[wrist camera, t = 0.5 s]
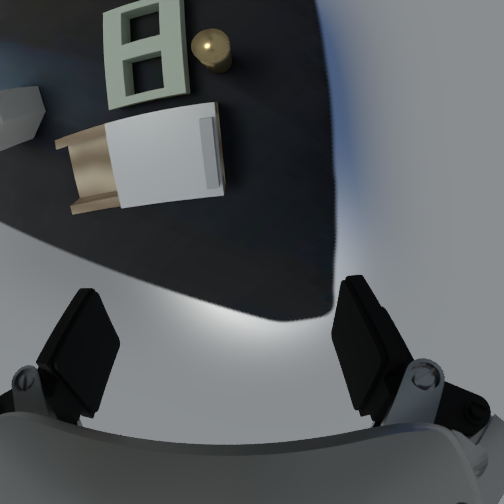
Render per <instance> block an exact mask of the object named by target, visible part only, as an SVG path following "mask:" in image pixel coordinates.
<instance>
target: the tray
mask: <svg viewBox="0 0 504 504" xmlns="http://www.w3.org/2000/svg"><path fill="white" fill-rule="evenodd" d="M215 109H216V119H217V130H218V140H219V149H220V159H221V169H222V178H223V187H224V191H225V184H226V181H225V172H224V162H223V152H222V142H221V132H220V121H219V111H218V102H215ZM55 144H56V150H57V149H60V148H63V147H66V146H68V148H69V153H70V158H71V162H72V167H73V171H74V176H75V180H76V184H77V188H78V192H79V196H80V199H78V200H77V201H76V202H75V203H73V204H72V205H71V206H70V207H71V210H72V214H78V213H83V212H89V211H94V210H100V209H106V208H111V207H117V206H121V205H120V201H119V197H118V192H117V188H116V184H115V179H114V175H113V170H112V165H111V160H110V155H109V149H108V144H107V138H106V132H105V125H104V124H103V125H100V126H96V127H93V128H90V129H87V130H84V131H80V132H77V133H75V134H72V135H69V136H66V137H63V138H61V139H58V140H55Z"/></svg>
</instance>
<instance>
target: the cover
mask: <svg viewBox="0 0 504 504" xmlns="http://www.w3.org/2000/svg"><path fill="white" fill-rule="evenodd" d="M104 125H105V132H106V138H107V144H108V149H109V155H110V160H111V165H112V170H113V175H114V179H115V184H116V188H117V192H118V197H119V201H120V205H121V208H127V207H133V206H140V205H147V204H154V203H162V202H170V201H178V200H186V199H195V198H204V197H214V196H224V187H223V178H222V169H221V159H220V149H219V140H218V130H217V119H216V109H215V102H211V103H203V104H196V105H189V106H183V107H177V108H171V109H166V110H160V111H155V112H150V113H146V114H141V115H137V116H133V117H129V118H125V119H121V120H117V121H113V122H110V123H106V124H104Z"/></svg>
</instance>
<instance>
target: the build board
mask: <svg viewBox="0 0 504 504" xmlns="http://www.w3.org/2000/svg"><path fill="white" fill-rule="evenodd" d="M158 11H159V22H160V35H157V36H153V37H149V38H145V39H141V40H138V41H134V42H131V38H130V19H132V18H135V17H139V16H142V15H146V14H150V13H154V12H158ZM103 41H104V62H105V76H106V87H107V97H108V105H109V110H113V109H120V108H124V107H128V106H132V105H136V104H140V103H144V102H149V101H153V100H158V99H163V98H168V97H173V96H179V95H185V94H191V93H190V82H189V71H188V59H187V45H186V30H185V13H184V0H141V1H137V2H134V3H131V4H128V5H124V6H121V7H119V8H116V9H113V10H110V11H107V12H105V13H103ZM159 56H162V69H163V80H164V88H161V89H156V90H152V91H147V92H143V93H139V94H135V91H134V81H133V70H132V63H135V62H139V61H142V60H146V59H150V58H155V57H159Z"/></svg>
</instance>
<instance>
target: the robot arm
mask: <svg viewBox="0 0 504 504" xmlns="http://www.w3.org/2000/svg"><path fill="white" fill-rule="evenodd" d="M331 335H332V341H333V344H334V347H335V350H336V353H337V356H338V359H339V362H340V365H341V368H342V371H343V375H344V378H345V381H346V384H347V387H348V391H349V394H350V397H351V401H352V404H353V407H354V409H355V410H359V412H360V416H361V417H362V416H366V415H370V416H371V419H372V420H373V421H374V422H373V424H372V426H371V428H368V429H363V430H358V431H353V432H348V433H343V434H338V435H333V436H326V437H319V438H312V439H305V440H297V441H289V442H278V443H266V444H245V445H205V444H186V443H172V442H163V441H154V440H147V439H140V438H133V437H127V436H122V435H116V434H111V433H106V432H102V431H97V430H93V429H89V428H85V427H83V426H82V423H81V421H80V419H79V418H80V415H82V416H85V417H89V418H93V417H94V414H95V412H97V411H98V409H99V406H100V403H101V399H102V396H103V393H104V390H105V387H106V384H107V381H108V378H109V375H110V372H111V369H112V366H113V364H114V360H115V358H116V355H117V352H118V350H119V347H120V340H119V337H118V335H117V333H116V331H115V329H114V327H113V325H112V323H111V321H110V319H109V316H108V314H107V312H106V310H105V308H104V305H103V303H102V300H101V298H100V296H99V294H98V293H97V292H95V290H94V289H92V288H81V289H79V290H78V292H77V293H76V295H75V296H74V298H73V299H72V301H71V302H70V304H69V306H68V307H67V309H66V311H65V312H64V314H63V315H62V317H61V319H60V320H59V322H58V323H57V325H56V327H55V328H54V330H53V332H52V334H51V335H50V337H49V339H48V340H47V342H46V344H45V346H44V348H43V349H42V352H41V353H40V355H39V357H38V359H37V361H36V363H37V365H38V366H39V367H38V369H36V368H35V367H34V366H31V365H27V366H24V367H22V368H20V369H19V370H18V371H17V372H16V373H15V375H14V377H13V379H12V389H11V390H9V391H8V392H6V393H4V394H2V395H1V396H0V504H498V502H499V501H500V499H501V498H502V496H503V494H504V421H503V420H501V419H500V418H499V417H498V416H497V415H494V416H493V417H492V416H491V414H490V413H491V411H490V406H489V405H488V403H487V401H486V400H485V399H484V398H483V397H481V396H479V395H477V394H474V393H472V392H469V391H467V390H464V389H462V388H459V387H457V386H455V385H452V384H450V383H448V382H445V381H444V378H445V376H444V373H443V370H442V369H441V367H440V366H439V365H438V364H437V363H436V362H434V361H432V360H429V359H424V358H423V359H417V360H414V359H413V357H412V355H411V353H410V352H409V350H408V348H407V346H406V344H405V342H404V340H403V339H402V337H401V335H400V333H399V331H398V329H397V328H396V326H395V324H394V322H393V321H392V319H391V317H390V315H389V314H388V312H387V311H386V309H385V308H384V307H381V305H380V304H379V302H378V300H377V299H376V297H375V295H374V293H373V292H372V290H371V288H370V287H369V285H368V283H367V282H366V280H365V279H364V277H363V276H362V275H353V276H347V277H346V279H345V280H343V281H342V282H341V285H340V291H339V297H338V302H337V307H336V313H335V318H334V323H333V327H332V333H331Z"/></svg>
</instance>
